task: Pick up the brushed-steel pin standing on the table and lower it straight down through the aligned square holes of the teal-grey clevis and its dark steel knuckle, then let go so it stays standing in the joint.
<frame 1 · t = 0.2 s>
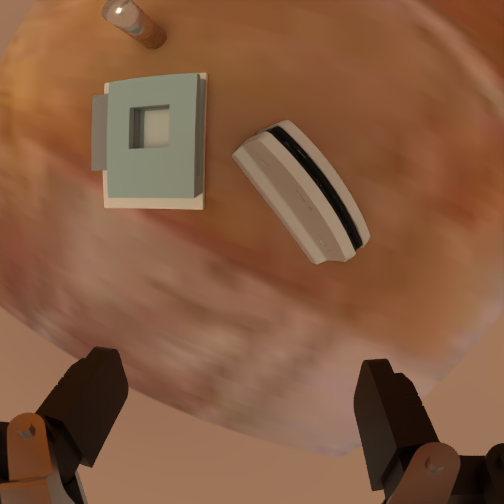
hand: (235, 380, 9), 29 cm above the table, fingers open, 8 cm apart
pin: (154, 38, 31), on the table
hinge: (299, 190, 36), on the table
clevis: (164, 128, 34), on the table
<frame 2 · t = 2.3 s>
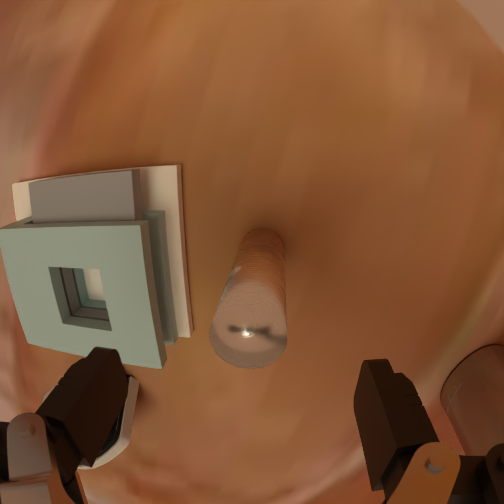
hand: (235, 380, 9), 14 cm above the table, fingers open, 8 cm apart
pin: (261, 249, 22), on the table
hinge: (93, 397, 30), on the table
clevis: (112, 270, 24), on the table
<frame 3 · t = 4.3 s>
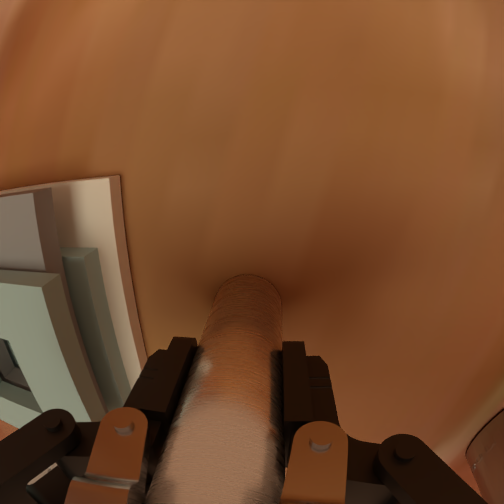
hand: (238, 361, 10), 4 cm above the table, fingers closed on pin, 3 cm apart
pin: (248, 305, 14), on the table, touching gripper
clevis: (48, 321, 16), on the table
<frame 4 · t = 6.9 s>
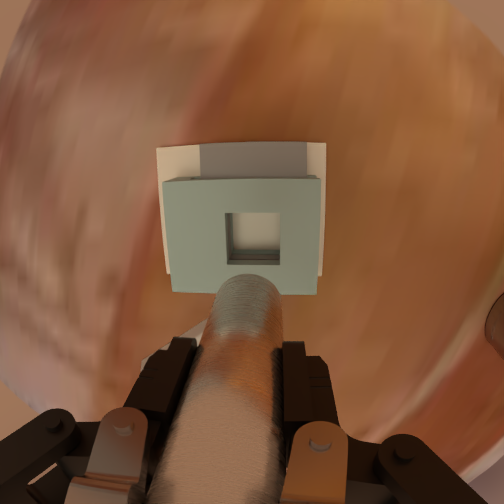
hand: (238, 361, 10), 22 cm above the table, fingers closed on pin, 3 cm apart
pin: (248, 304, 14), point 18 cm above the table, touching gripper
hinge: (204, 354, 37), on the table
clevis: (257, 224, 31), on the table
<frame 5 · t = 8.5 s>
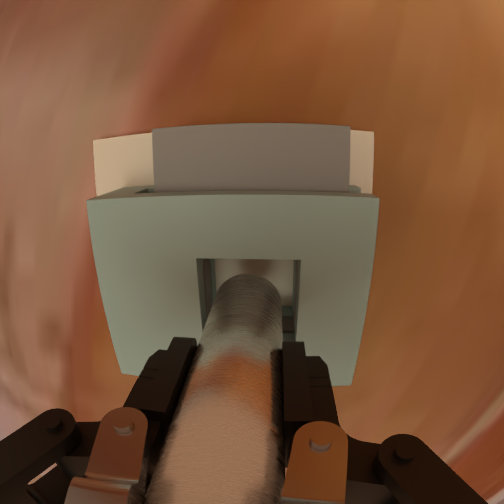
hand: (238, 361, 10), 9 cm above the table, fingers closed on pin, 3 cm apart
pin: (248, 304, 14), point 5 cm above the table, touching gripper
clevis: (255, 264, 19), on the table
when the fingers open (6 cm above the table, at t = 9.9 s): pin stays where it is, resting on clevis.
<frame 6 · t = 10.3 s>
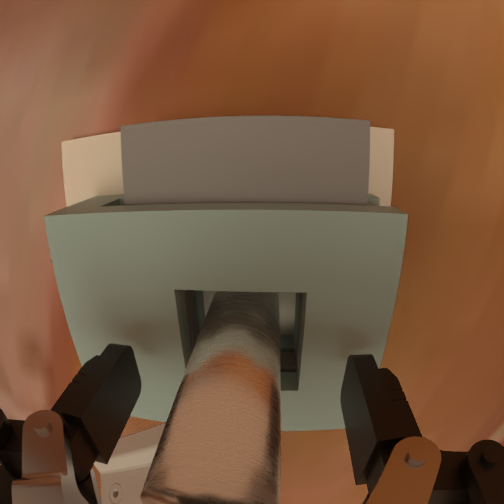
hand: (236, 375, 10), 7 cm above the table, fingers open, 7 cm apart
pin: (247, 294, 15), point 1 cm above the table, touching clevis
hinge: (176, 453, 22), on the table
clevis: (250, 286, 16), on the table
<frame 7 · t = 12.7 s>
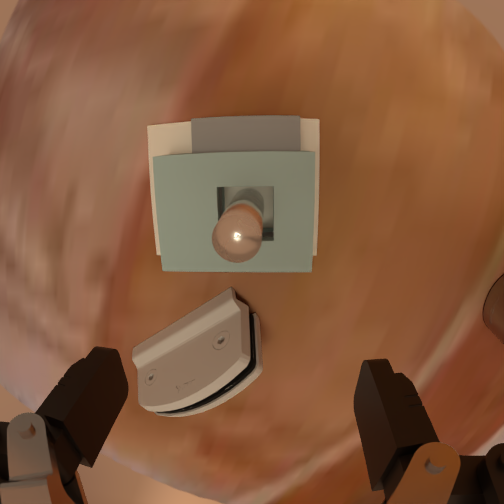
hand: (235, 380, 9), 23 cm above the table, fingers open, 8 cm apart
pin: (248, 204, 29), point 1 cm above the table, touching clevis
hinge: (198, 342, 37), on the table
clevis: (249, 202, 30), on the table
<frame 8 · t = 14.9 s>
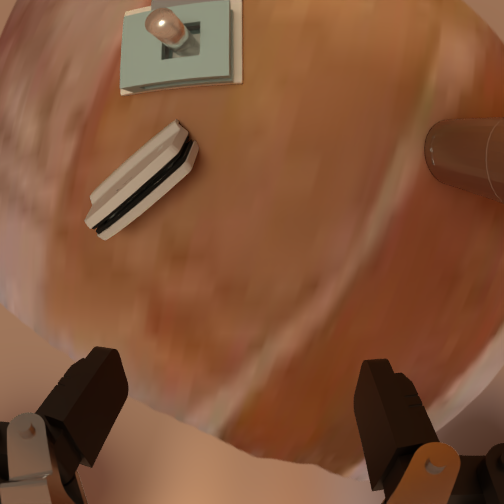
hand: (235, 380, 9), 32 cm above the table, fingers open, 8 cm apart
pin: (189, 49, 33), point 1 cm above the table, touching clevis
hinge: (147, 178, 40), on the table
clevis: (191, 51, 34), on the table
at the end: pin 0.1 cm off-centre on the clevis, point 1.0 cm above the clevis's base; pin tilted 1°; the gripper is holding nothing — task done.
